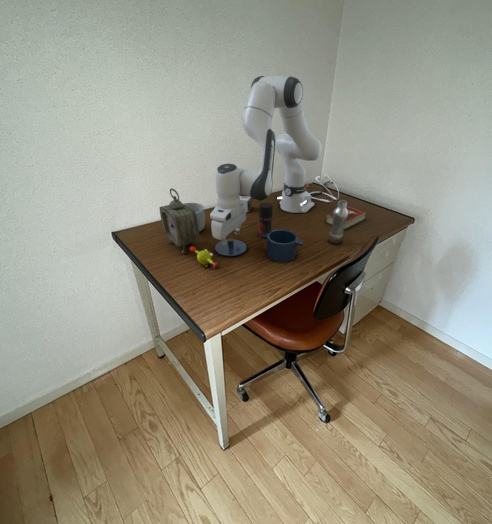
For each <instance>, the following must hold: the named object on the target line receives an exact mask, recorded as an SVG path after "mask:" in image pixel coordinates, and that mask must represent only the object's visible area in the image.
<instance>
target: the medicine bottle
mask: <svg viewBox="0 0 492 524" xmlns="http://www.w3.org/2000/svg"><path fill="white" fill-rule="evenodd" d="M239 197H240V200H241V201H242V202H243V203H244V207H245V211H246V213H249V212H250V211H251V209H252V207H253V206H252V205H253V204H252V202H253V201H252V199H253V198H252V197H248V196H245V195H240V196H239Z"/></svg>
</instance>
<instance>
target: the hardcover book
mask: <svg viewBox="0 0 492 524" xmlns="http://www.w3.org/2000/svg"><path fill="white" fill-rule="evenodd" d="M346 209H347V211H348V216H347V219H346V221H345V225H344V230H343V231H346V230H348V229H349V228H351V227H353V226H355V225H357V224H359V223H361V222H363V221H365V220H366V219H365V218H366V217H365V216H366V215H367V212H364V211H362V210H360V209H357V208H355V207H351V206H347V207H346ZM325 223H326V224H328V225H331V226H332V224H333V212H332V213H330V214H327V215H326V216H325Z"/></svg>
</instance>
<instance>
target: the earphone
mask: <svg viewBox="0 0 492 524" xmlns="http://www.w3.org/2000/svg"><path fill="white" fill-rule="evenodd" d="M323 178H324V179H326V178H327V179H328V180H329V181H332V182H333V183H332V182H331V183H332V184H334V186H335V187H336V190H337V193H338V197H335V196H334V195H333V194H332V192H331V191H330V190H329V189H328V188H327V186H326V185H325V186H326V187H325V186H324V185H323V187H324V189H325V188H326V191H328V192H329V193H330V194H328V193H326V192H324V193H323V191H321V192H322V193H321V194H323V195H325V196H327V197H329V198H331V199H332V200H328V199H323V198H317V197H314V196H313V197H311V199H313V200H316V201H320V202H324V203H327V204H329V203H331V202H333V201H334V200H335V201H337V200H338V199H339V198H340V191H339V188H338V186H337V185H336V184H335V182H334V181H333V180H332V178H331V177H330V176H329V174H328V173H325V174H324V175H323ZM320 179H321V176H320V175H317V176H315V178H314V180H315V181H316V182H317V183H319V184H320V185H322V183H321V182H320ZM319 192H320V191H312V192H308V193H309V194H310V195H311V194H312V195H313V194H315V193H319Z"/></svg>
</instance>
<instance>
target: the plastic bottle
mask: <svg viewBox="0 0 492 524" xmlns="http://www.w3.org/2000/svg"><path fill="white" fill-rule="evenodd" d="M347 207H348V201H346V200H343V199H340V200H339V201H338V202H337V207H336V208H335V209H334V210H333V212H332V213H333V224H332V225H331V228H330V232H329V234H328V242H330V243H331V244H337V245H338V244H341V243H342V242H343V239H344V231H345V230H344V225H345V221H346V219H347V216H348V211H347V209H346V208H347Z"/></svg>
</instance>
